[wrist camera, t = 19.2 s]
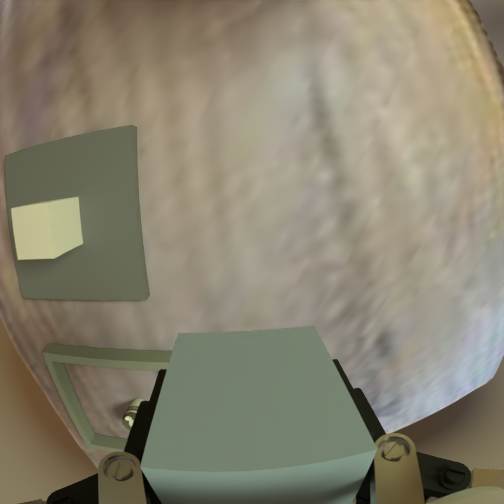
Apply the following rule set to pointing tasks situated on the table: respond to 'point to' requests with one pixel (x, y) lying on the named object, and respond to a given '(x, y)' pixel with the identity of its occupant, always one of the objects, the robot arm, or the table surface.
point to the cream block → (47, 228)
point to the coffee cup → (131, 413)
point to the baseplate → (84, 215)
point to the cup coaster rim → (98, 358)
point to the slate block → (255, 423)
